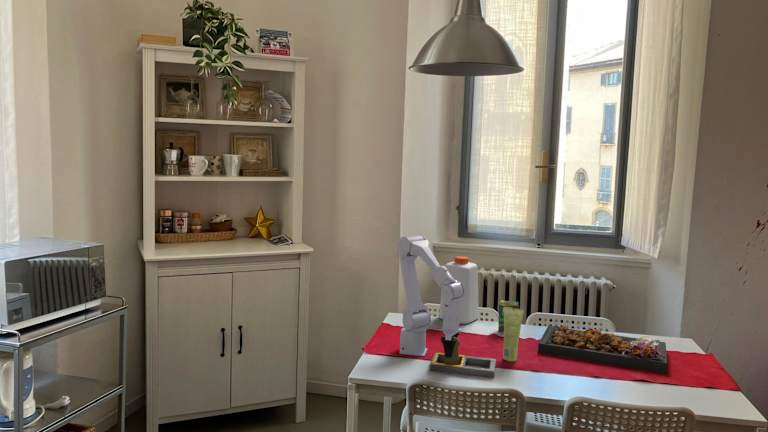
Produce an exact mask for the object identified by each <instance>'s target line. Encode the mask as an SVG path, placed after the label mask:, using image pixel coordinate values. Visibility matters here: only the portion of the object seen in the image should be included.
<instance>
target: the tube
mask: <svg viewBox="0 0 768 432" xmlns="http://www.w3.org/2000/svg"><path fill="white" fill-rule="evenodd" d="M503 311H504V332H503V352H502V359H503V360H505V361H507V362H517V358H518V350H519V341H520V334H521V326H522V322H523V317H524V313H525V312H524V311H525V310H524V309H521V308H518V309H514V308H507V307H503Z"/></svg>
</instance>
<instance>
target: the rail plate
mask: <svg viewBox="0 0 768 432" xmlns="http://www.w3.org/2000/svg"><path fill="white" fill-rule="evenodd" d="M444 358H445V353H443V352H434V354H433V356H432V359H431V361H430V364H429V372H435V373H443V374H450V375H451V374H453V375H460V376H466V377H467V376H468V377H470V376H471V377H478V378H487V379H495V373H496V366H497V365H496V364H497V359H496V358H489V357H479V356H471V355H470V356H469V355H462V354H459V363H460V365H451V364H443V363H444ZM439 362H440V363H439ZM441 362H442V363H441ZM468 365H469V366H468ZM477 366H478V367H477ZM483 367H486V368H483Z"/></svg>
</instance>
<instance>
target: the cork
mask: <svg viewBox="0 0 768 432" xmlns="http://www.w3.org/2000/svg"><path fill="white" fill-rule="evenodd" d="M452 339H457V342H456V343H455V345H454V349H453V354H452V357H451V358H447V357H445V358H444V362H442V364H451V365H461V364H460V363H459V355H460V354H459V347H460V346H461V345H460V344H461V341H460V338H458V337H452Z"/></svg>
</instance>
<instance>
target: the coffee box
mask: <svg viewBox="0 0 768 432" xmlns="http://www.w3.org/2000/svg"><path fill="white" fill-rule="evenodd" d="M503 307H507V308H514V309H519V301H512V300H511V301H510V300H509V301H508V300H502V299H501V300H499V302H498V324H497V325H498V328H497V331H498V332H501V333H504V311H503Z"/></svg>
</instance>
